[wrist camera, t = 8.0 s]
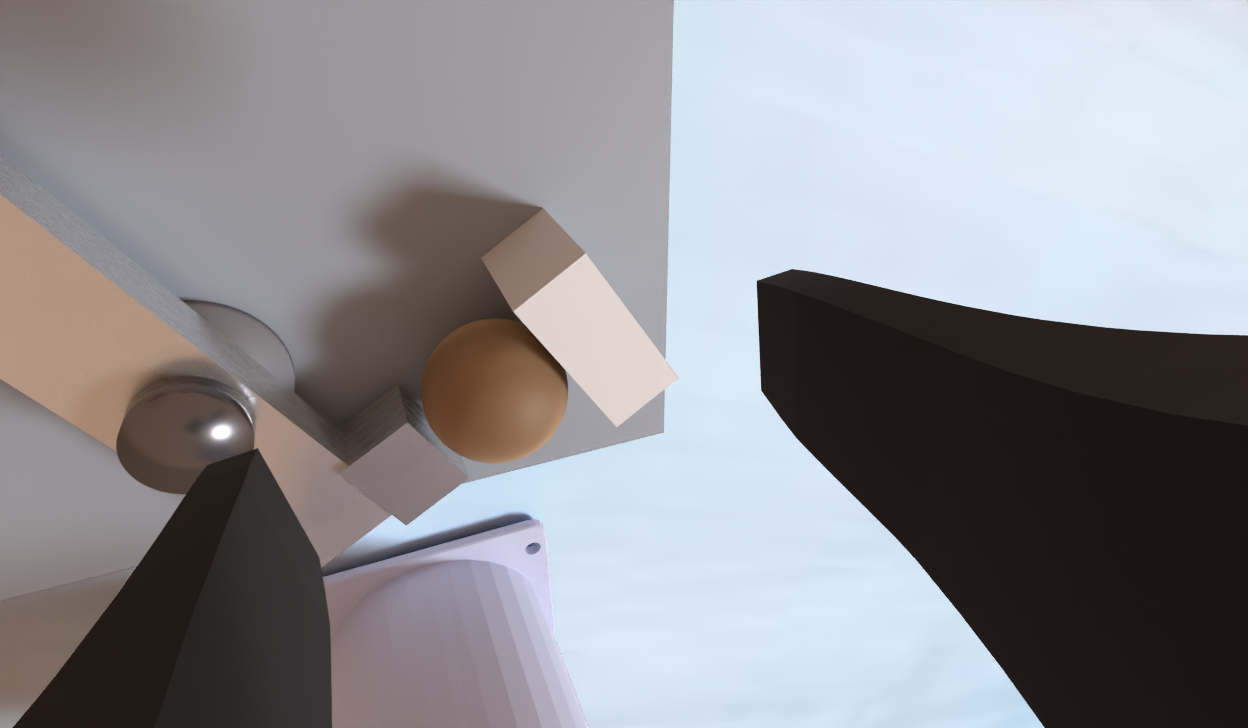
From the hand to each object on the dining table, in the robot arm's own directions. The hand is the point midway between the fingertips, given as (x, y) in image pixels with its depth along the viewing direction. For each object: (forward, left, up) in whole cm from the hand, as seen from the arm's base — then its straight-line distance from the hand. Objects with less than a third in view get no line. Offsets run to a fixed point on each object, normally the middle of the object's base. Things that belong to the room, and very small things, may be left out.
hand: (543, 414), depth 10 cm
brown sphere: (-4, -1, -9) cm, 10 cm away
